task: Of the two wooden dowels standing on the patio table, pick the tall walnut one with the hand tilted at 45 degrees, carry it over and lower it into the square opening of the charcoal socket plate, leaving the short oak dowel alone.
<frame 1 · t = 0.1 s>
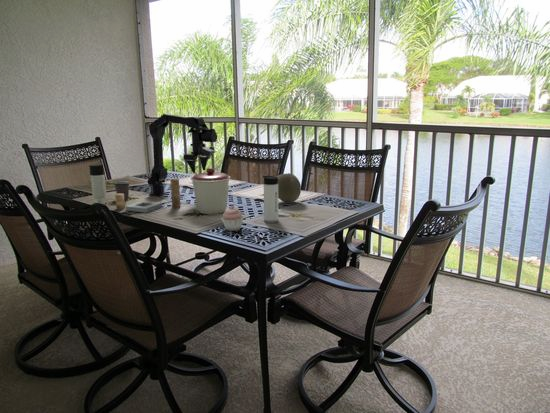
hand: (199, 171, 227), 15 cm above the table, tool pointing down, fingers open, 9 cm apart
cantaloupe: (286, 203, 221), on the table
coffee cup: (123, 200, 230), on the table
travel mug: (270, 221, 189), on the table
short pin: (120, 208, 212), on the table
tall pin: (176, 207, 213), on the table
cupcake: (232, 229, 178), on the table
hole plate: (144, 208, 211), on the table
canister: (212, 212, 204), on the table
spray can: (100, 203, 222), on the table
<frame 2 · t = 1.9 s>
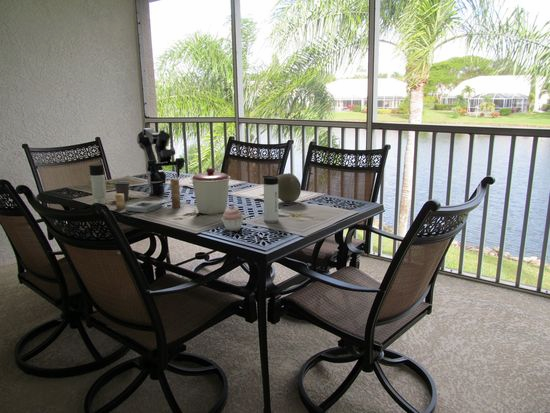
hand: (169, 177, 217), 13 cm above the table, tool tilted 45°, fingers open, 9 cm apart
nothing on the table moved.
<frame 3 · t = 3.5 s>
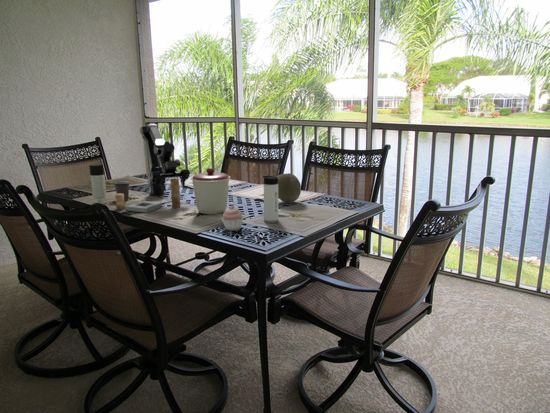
hand: (174, 189, 212), 9 cm above the table, tool tilted 45°, fingers open, 9 cm apart
nothing on the table moved.
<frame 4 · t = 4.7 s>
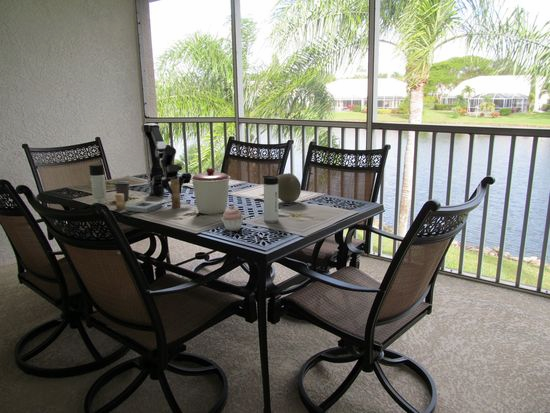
hand: (176, 193, 210), 7 cm above the table, tool tilted 45°, fingers closed on tall pin, 4 cm apart
tall pin: (176, 207, 213), on the table, touching gripper
everything else where it was.
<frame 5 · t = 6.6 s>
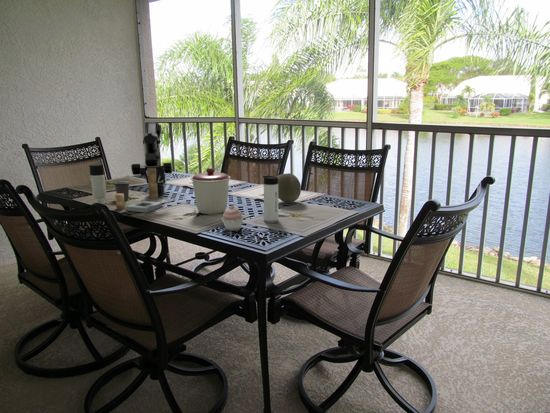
hand: (152, 183, 207), 13 cm above the table, tool tilted 45°, fingers closed on tall pin, 4 cm apart
tall pin: (153, 196, 210), point 6 cm above the table, touching gripper
everything else where it was.
when the fingers open (8 cm above the table, at t = 8.4 s): tall pin drops 1 cm, resting in hole plate.
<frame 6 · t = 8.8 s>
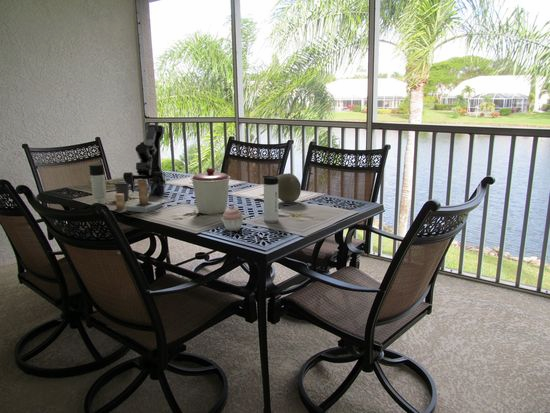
hand: (142, 191, 208), 9 cm above the table, tool tilted 45°, fingers open, 9 cm apart
tall pin: (144, 208, 211), resting in hole plate
everything else where it was.
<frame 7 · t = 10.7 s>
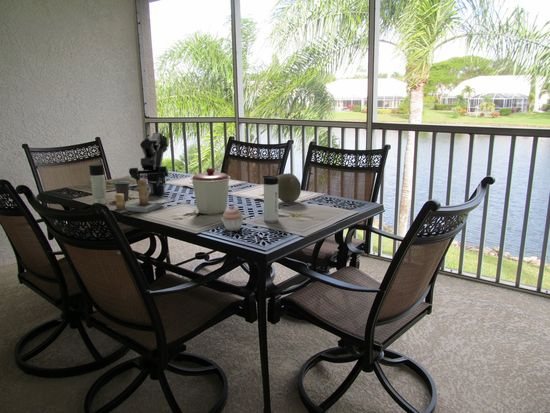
hand: (147, 186, 217), 9 cm above the table, tool tilted 45°, fingers open, 9 cm apart
nothing on the table moved.
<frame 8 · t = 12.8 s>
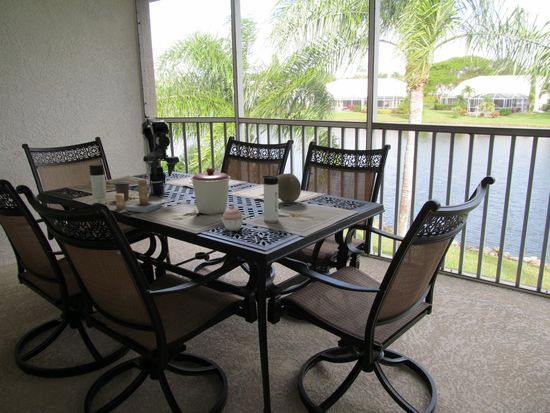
hand: (162, 175, 225), 13 cm above the table, tool pointing down, fingers open, 9 cm apart
nothing on the table moved.
at the end: tall pin 0.0 cm off-centre on the hole plate, point 0.0 cm above the hole plate's base; tall pin tilted 0°; the gripper is holding nothing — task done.
